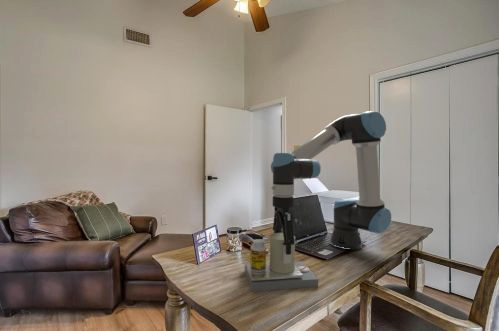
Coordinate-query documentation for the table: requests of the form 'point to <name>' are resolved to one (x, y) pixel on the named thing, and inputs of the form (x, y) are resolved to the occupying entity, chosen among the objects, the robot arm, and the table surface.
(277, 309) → the table surface
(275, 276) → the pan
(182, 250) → the table surface
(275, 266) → the can
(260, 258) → the supplement bottle
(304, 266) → the scale base
